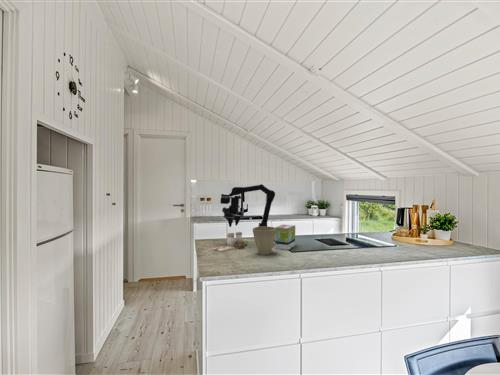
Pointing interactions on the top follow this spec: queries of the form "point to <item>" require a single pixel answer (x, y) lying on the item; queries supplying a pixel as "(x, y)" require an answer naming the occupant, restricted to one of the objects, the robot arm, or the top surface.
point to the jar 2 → (238, 236)
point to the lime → (245, 241)
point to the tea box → (285, 237)
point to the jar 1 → (230, 240)
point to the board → (223, 248)
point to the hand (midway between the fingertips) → (233, 226)
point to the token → (239, 244)
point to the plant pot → (264, 239)
